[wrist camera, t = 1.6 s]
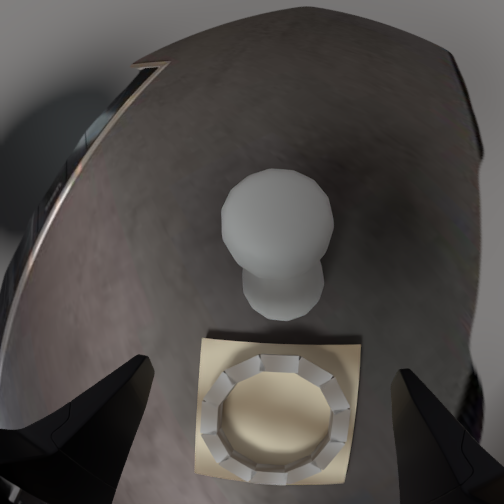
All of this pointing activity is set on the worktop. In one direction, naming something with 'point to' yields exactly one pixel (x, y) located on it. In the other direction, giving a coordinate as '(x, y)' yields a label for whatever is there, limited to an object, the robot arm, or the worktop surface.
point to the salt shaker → (279, 240)
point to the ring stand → (276, 411)
